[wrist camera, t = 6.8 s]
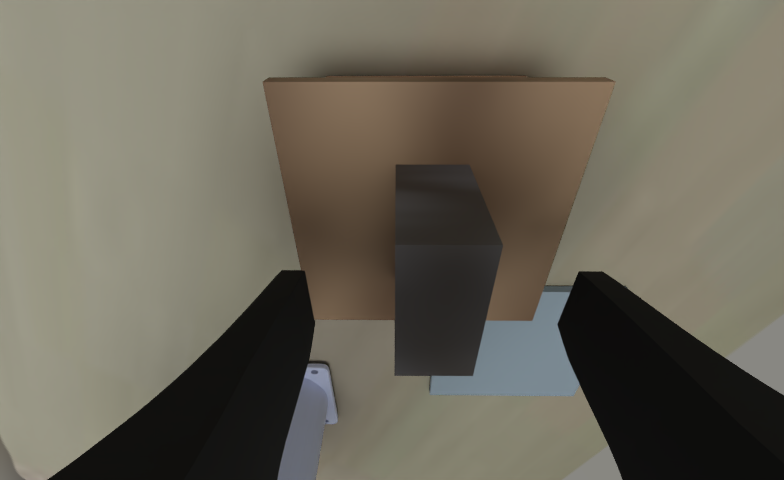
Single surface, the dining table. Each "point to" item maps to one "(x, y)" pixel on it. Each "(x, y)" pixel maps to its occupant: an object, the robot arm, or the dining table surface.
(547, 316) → the mat
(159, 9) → the dining table surface
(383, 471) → the dining table surface
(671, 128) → the dining table surface
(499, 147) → the lid
